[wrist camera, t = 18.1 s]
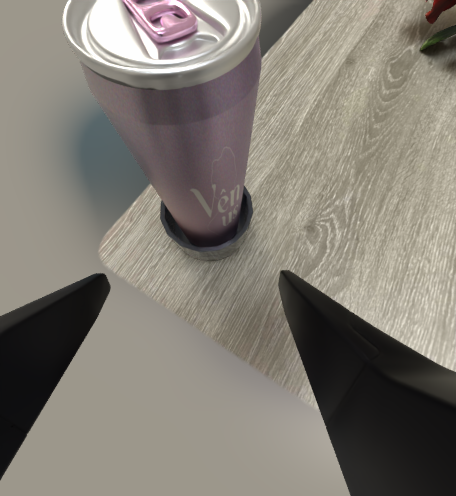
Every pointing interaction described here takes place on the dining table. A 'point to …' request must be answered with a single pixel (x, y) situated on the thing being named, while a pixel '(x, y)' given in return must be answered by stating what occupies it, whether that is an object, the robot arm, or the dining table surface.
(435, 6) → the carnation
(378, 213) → the dining table surface
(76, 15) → the beverage can
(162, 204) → the pot
